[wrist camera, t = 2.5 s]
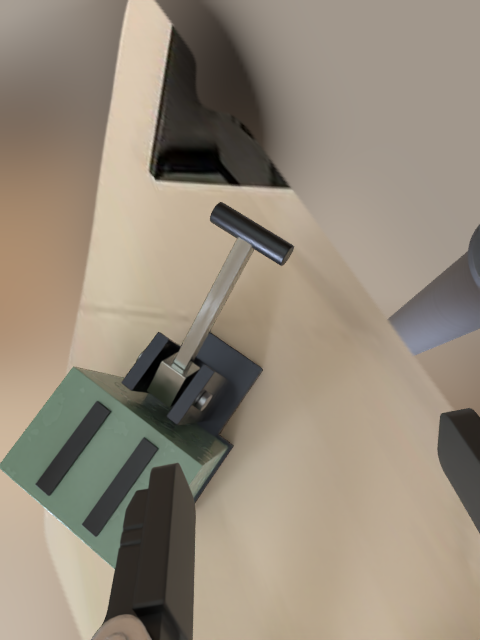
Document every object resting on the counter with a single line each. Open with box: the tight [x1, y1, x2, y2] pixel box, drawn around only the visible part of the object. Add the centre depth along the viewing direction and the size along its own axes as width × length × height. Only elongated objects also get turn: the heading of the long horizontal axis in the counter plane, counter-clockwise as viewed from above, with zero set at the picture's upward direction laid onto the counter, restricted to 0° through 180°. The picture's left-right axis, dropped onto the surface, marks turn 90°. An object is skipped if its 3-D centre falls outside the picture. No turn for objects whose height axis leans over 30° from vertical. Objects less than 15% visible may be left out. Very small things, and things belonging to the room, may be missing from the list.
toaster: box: [0, 367, 234, 569], centre depth 34 cm, size 9×12×15 cm
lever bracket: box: [121, 332, 263, 438], centre depth 35 cm, size 10×8×14 cm
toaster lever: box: [147, 202, 294, 408], centre depth 29 cm, size 14×6×2 cm, turn 145°
